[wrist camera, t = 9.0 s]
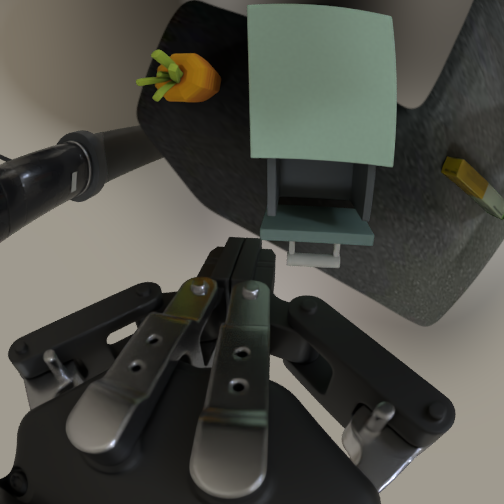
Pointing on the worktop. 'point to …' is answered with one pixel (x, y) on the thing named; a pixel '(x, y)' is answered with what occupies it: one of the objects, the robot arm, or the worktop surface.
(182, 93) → the carrot
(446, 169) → the medication box
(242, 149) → the worktop surface
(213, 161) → the worktop surface
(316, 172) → the green drawer
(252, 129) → the green drawer housing
